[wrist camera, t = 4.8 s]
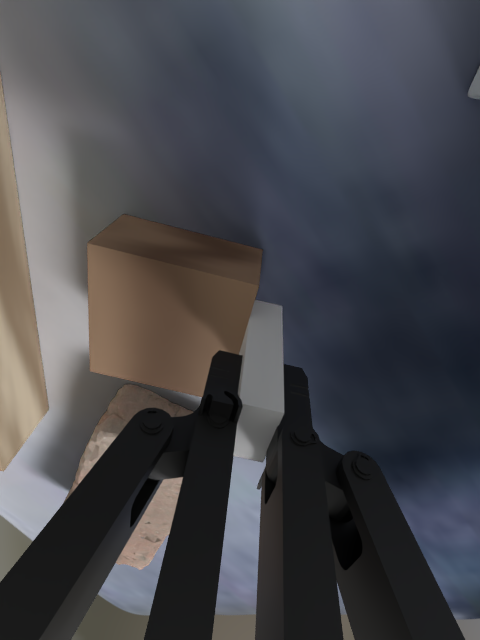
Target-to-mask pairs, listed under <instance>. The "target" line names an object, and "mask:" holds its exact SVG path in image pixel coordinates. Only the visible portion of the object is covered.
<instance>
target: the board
mask: <svg viewBox="0 0 480 640" xmlns="http://www.w3.org/2000/svg"><path fill="white" fill-rule="evenodd" d="M48 410H49V406H48V399H47V393H46V386H45V379H44V372H43V365H42V358H41V351H40V344H39V337H38V330H37V323H36V316H35V309H34V302H33V295H32V289H31V282H30V275H29V268H28V261H27V254H26V247H25V240H24V233H23V226H22V219H21V212H20V205H19V198H18V191H17V184H16V178H15V171H14V164H13V157H12V150H11V143H10V136H9V129H8V122H7V115H6V108H5V101H4V94H3V87H2V80H1V74H0V471H4V470H5V469H6V468H7V466H8V465H9V464H10V462H11V461H12V459H13V458H14V457H15V455H16V454H17V453H18V451H19V450H20V448H21V447H22V446H23V444H24V443H25V442H26V440H27V439H28V437H29V436H30V435H31V433H32V432H33V431H34V429H35V428H36V427H37V425H38V424H39V422H40V421H41V420H42V418H43V417H44V416H45V414H46V413H47V411H48Z"/></svg>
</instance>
